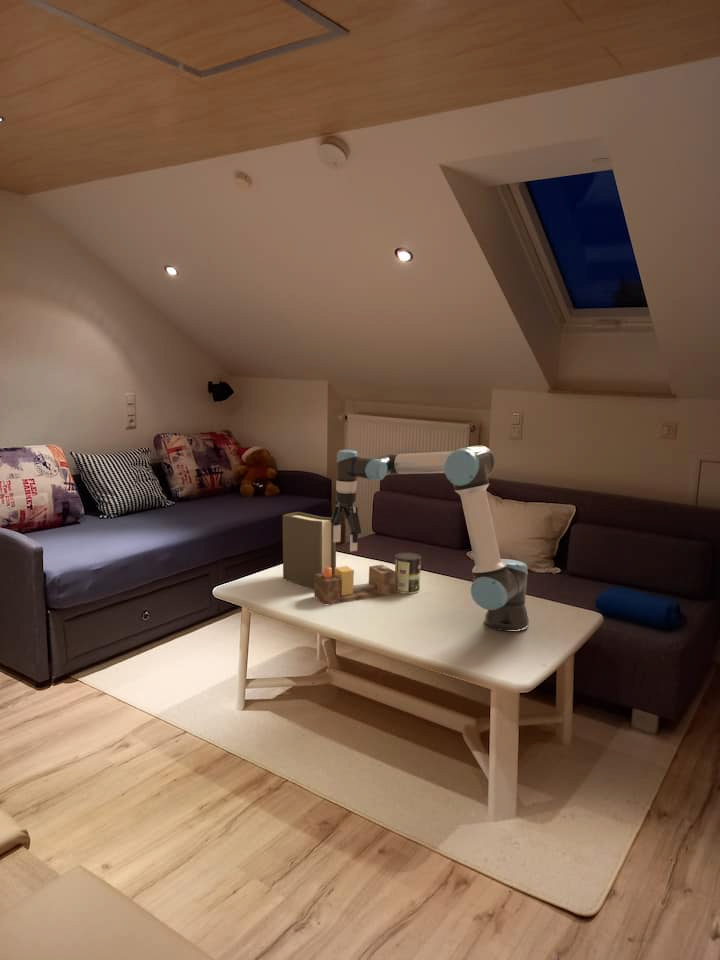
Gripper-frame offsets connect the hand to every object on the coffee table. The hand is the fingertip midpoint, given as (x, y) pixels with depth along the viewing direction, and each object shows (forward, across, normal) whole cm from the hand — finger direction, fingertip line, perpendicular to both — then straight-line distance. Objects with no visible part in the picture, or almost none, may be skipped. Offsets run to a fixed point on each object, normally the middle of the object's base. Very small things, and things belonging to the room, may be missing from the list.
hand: (345, 546), depth 269 cm
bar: (+19, 0, -5) cm, 19 cm away
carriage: (+18, 0, 0) cm, 18 cm away
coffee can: (+20, -3, -27) cm, 34 cm away
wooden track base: (+20, 0, -5) cm, 21 cm away
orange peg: (+14, 0, +7) cm, 15 cm away
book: (+20, +22, +5) cm, 30 cm away
